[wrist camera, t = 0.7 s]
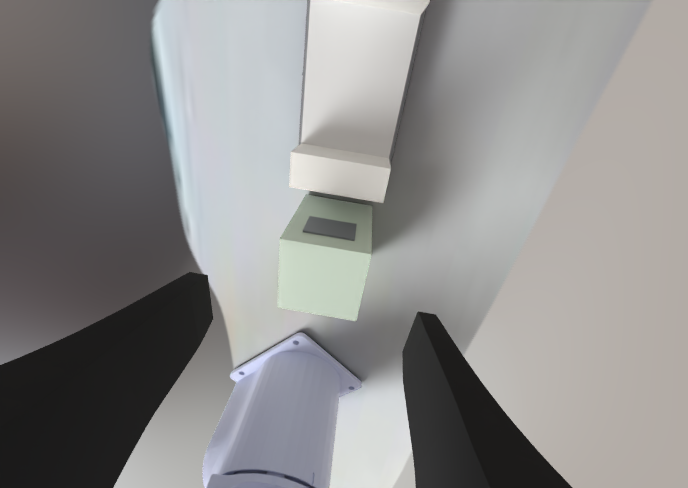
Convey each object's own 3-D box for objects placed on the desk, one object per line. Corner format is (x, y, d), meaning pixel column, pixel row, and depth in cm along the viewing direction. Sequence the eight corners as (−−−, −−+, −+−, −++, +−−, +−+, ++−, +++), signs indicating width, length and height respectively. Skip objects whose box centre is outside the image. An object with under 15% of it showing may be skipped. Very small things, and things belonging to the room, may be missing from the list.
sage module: (360, 261, 19) (356, 321, 14) (301, 250, 19) (277, 307, 14) (372, 204, 17) (372, 252, 12) (306, 192, 17) (279, 236, 12)
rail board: (384, 184, 16) (386, 207, 13) (300, 170, 16) (284, 190, 13) (432, -33, 11) (453, -73, 8) (316, -53, 11) (296, -99, 9)
